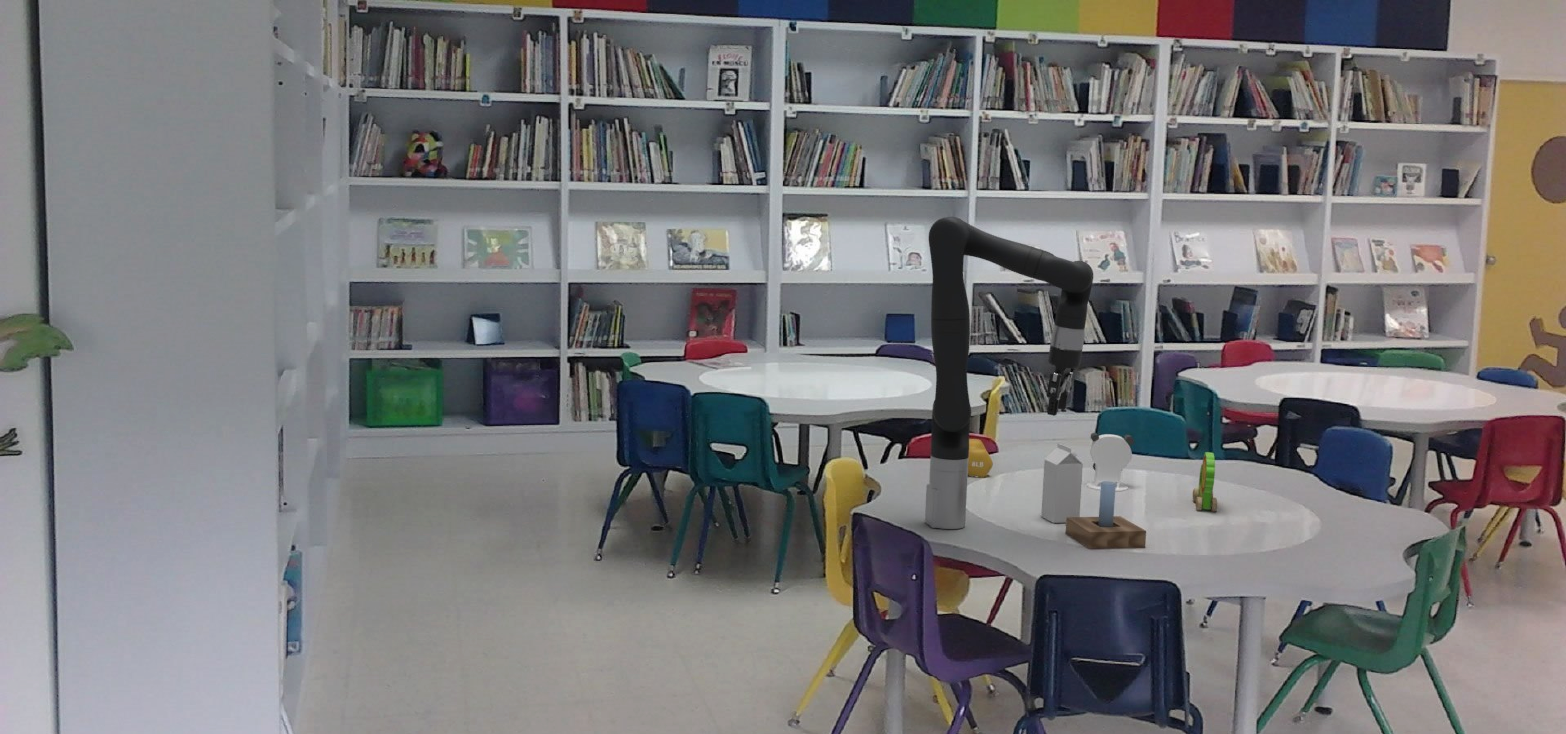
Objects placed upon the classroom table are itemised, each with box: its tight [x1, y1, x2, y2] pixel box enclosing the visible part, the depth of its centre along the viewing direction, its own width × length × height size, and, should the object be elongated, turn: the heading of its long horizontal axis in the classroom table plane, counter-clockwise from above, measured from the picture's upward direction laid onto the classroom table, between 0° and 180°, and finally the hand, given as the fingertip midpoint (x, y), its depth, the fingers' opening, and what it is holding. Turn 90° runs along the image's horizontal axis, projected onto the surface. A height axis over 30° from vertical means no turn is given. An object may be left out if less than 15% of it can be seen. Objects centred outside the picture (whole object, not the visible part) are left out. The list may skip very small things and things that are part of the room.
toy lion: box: [1192, 451, 1218, 512], centre depth 364 cm, size 16×5×15 cm, turn 168°
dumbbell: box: [968, 438, 994, 478], centre depth 402 cm, size 19×9×8 cm, turn 177°
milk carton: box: [1040, 442, 1084, 524], centre depth 345 cm, size 7×7×19 cm
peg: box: [1098, 481, 1116, 527], centre depth 327 cm, size 3×3×14 cm
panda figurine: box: [1086, 432, 1135, 493], centre depth 385 cm, size 12×11×15 cm
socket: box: [1065, 515, 1147, 550], centre depth 328 cm, size 14×14×4 cm
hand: (1056, 411), depth 328 cm, fingers open, 8 cm apart
